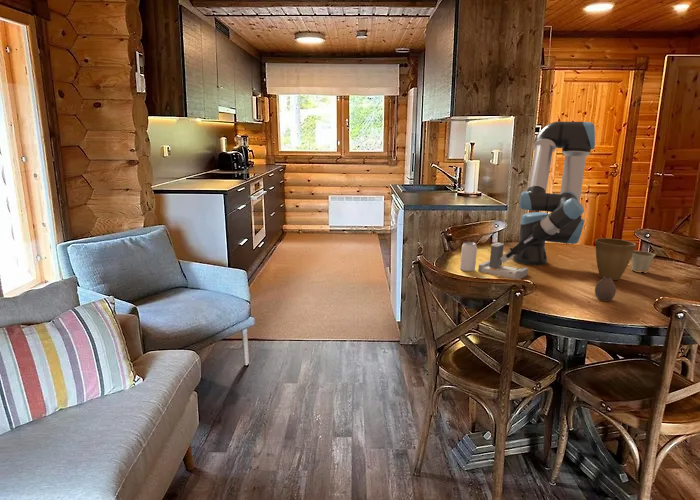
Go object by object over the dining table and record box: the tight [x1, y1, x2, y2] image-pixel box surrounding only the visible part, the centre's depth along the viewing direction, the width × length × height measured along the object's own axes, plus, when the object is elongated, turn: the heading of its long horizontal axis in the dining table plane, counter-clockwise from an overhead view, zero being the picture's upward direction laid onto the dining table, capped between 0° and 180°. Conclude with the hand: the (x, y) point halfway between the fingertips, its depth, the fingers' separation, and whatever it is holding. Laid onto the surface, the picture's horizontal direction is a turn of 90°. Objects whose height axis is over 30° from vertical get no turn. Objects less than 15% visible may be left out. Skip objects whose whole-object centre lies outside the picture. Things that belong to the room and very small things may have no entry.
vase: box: [594, 276, 617, 302], centre depth 181 cm, size 7×7×9 cm
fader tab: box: [489, 242, 505, 268], centre depth 213 cm, size 3×6×12 cm, turn 141°
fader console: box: [477, 259, 529, 280], centre depth 212 cm, size 18×10×3 cm, turn 51°
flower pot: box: [631, 250, 656, 272], centre depth 219 cm, size 9×9×9 cm
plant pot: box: [595, 237, 637, 281], centre depth 207 cm, size 15×15×16 cm
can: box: [459, 241, 478, 272], centre depth 215 cm, size 6×6×12 cm
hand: (502, 260), depth 212 cm, fingers closed
